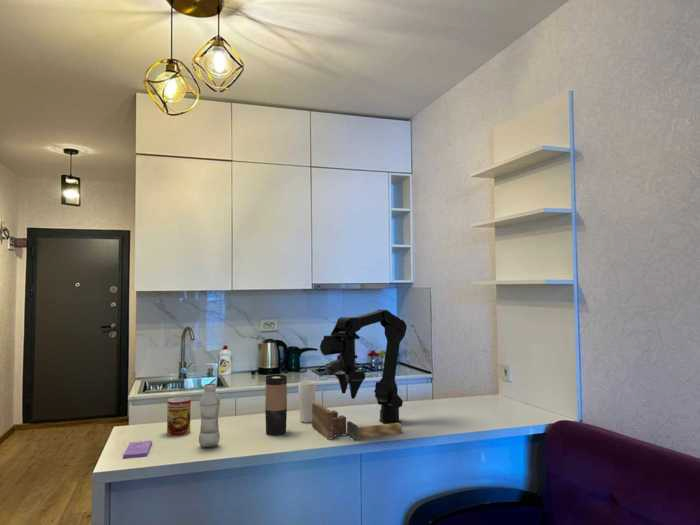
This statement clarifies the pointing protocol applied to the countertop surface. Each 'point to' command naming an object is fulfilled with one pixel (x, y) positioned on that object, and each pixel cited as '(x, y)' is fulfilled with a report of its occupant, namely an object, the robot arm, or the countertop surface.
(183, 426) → the canned food
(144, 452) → the sponges
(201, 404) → the plastic bottle
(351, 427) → the hammer
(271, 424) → the travel mug
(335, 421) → the walnut box
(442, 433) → the countertop surface
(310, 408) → the white cylinder
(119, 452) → the countertop surface
